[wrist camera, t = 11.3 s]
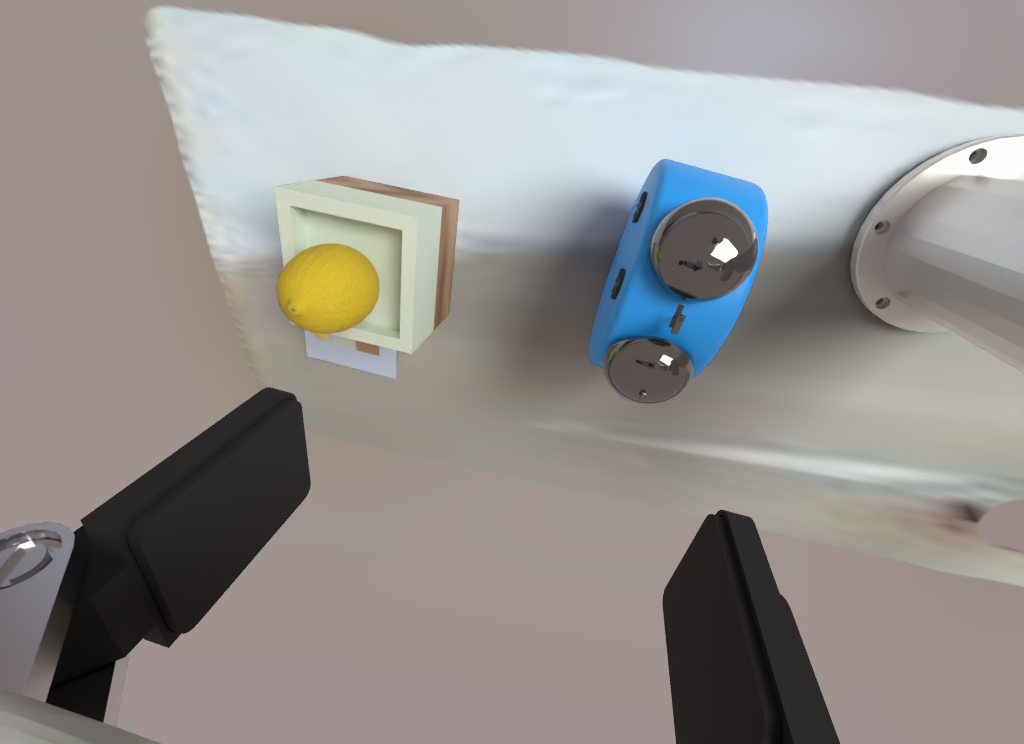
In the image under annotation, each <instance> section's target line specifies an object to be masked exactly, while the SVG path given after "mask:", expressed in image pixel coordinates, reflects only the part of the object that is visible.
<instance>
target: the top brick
mask: <svg viewBox="0 0 1024 744" xmlns="http://www.w3.org/2000/svg"><path fill="white" fill-rule="evenodd" d="M274 191H275V199H276V207H277V216H278V224H279V233H280V241H281V250H282V258H283V267H285V265H286V264H287V263H288V262H289V261H290V260H291V259H293V258H294V257H295V256H296V255H297V254H298V253H300V252H302V251H303V250H306V249H308V248H311V247H313V246H316V245H320V244H333V243H335V244H341V245H346V246H349V247H352V248H354V249H356V250H358V251H359V252H361V253H362V254H363V255H364V256H366V257H367V258H368V260H369V261H370V262H371V263H372V264H373V266H374V268H375V270H376V272H377V275H378V278H379V287H380V291H379V297H378V301H377V303H376V305H375V306H374V308H373V310H372V312H371V313H370V314H369V315H368V316H367V317H366V318H365V319H364V320H363V321H362V322H360V323H359V324H357V325H355V326H353V327H351V328H349V329H347V330H345V331H342V332H337V333H331V334H332V335H336V336H340V337H344V338H349V339H353V340H357V341H361V342H365V343H369V344H373V345H377V346H381V347H385V348H389V349H393V350H397V351H401V352H405V353H409V354H412V353H413V352H414V351H415V350H416V349H417V348H418V347H419V346H420V345H421V344H422V343H423V341H424V340H425V339H426V338H427V337H428V336H429V335H430V334H431V333H432V332H433V328H434V314H435V300H436V286H437V272H438V258H439V244H440V230H441V216H442V207H439V206H434V205H429V204H425V203H420V202H415V201H411V200H406V199H401V198H396V197H392V196H387V195H382V194H378V193H373V192H368V191H363V190H359V189H354V188H349V187H344V186H340V185H335V184H330V183H326V182H321V181H316V180H314V181H307V182H300V183H294V184H287V185H281V186H274ZM290 324H292V325H295V324H294V323H293V322H292V321H291V320H290ZM296 326H297V325H296Z"/></svg>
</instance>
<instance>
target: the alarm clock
mask: <svg viewBox="0 0 1024 744" xmlns="http://www.w3.org/2000/svg"><path fill="white" fill-rule="evenodd" d="M767 224H768V207H767V200H766V197H765V194H764V192H763V191H762V189H761V188H760V187H759V186H757V185H756V184H754V183H751V182H748V181H744V180H741V179H737V178H733V177H730V176H726V175H723V174H719V173H715V172H712V171H708V170H705V169H701V168H698V167H694V166H690V165H687V164H683V163H680V162H676V161H672V160H669V159H663V160H661V161H659V162H658V163H657V164H656V165H655V166H654V167H653V169H652V170H651V172H650V174H649V176H648V177H647V179H646V181H645V183H644V185H643V187H642V189H641V191H640V194H639V196H638V198H637V200H636V203H635V205H634V207H633V210H632V212H631V214H630V217H629V219H628V222H627V224H626V227H625V230H624V232H623V235H622V237H621V240H620V243H619V246H618V248H617V251H616V254H615V257H614V260H613V262H612V265H611V268H610V271H609V274H608V277H607V280H606V283H605V287H604V290H603V293H602V296H601V300H600V303H599V306H598V310H597V314H596V317H595V321H594V325H593V329H592V334H591V339H590V345H589V359H590V361H591V362H592V363H593V364H595V365H598V366H601V367H603V372H604V375H605V378H606V380H607V382H608V384H609V385H610V386H611V388H612V389H613V390H614V391H615V392H616V393H618V394H619V395H620V396H622V397H623V398H625V399H627V400H630V401H633V402H636V403H641V404H661V403H665V402H668V401H670V400H673V399H675V398H677V397H678V396H679V395H681V394H682V393H683V392H684V391H685V390H686V389H687V388H688V386H689V385H690V383H691V381H692V379H694V378H695V377H696V376H697V375H698V374H699V373H700V372H701V371H702V370H703V369H704V368H705V367H706V366H707V365H708V364H709V362H710V361H711V360H712V359H713V357H714V356H715V355H716V353H717V352H718V350H719V349H720V347H721V346H722V344H723V343H724V341H725V340H726V338H727V336H728V334H729V333H730V331H731V329H732V327H733V325H734V324H735V322H736V320H737V318H738V316H739V314H740V312H741V310H742V308H743V305H744V303H745V301H746V299H747V296H748V294H749V291H750V289H751V286H752V284H753V281H754V278H755V275H756V273H757V269H758V266H759V263H760V260H761V256H762V252H763V248H764V243H765V239H766V232H767Z"/></svg>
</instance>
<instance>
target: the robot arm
mask: <svg viewBox="0 0 1024 744" xmlns="http://www.w3.org/2000/svg"><path fill="white" fill-rule="evenodd" d="M971 153H972V155H971V157H970V158H969V156H970V154H971ZM878 223H879V226H878V227H877V228H875V226H876V225H877V224H878ZM850 267H851V280H852V283H853V286H854V290H855V292H856V294H857V296H858V297H859V299H860V300H861V302H862V304H863V305H864V306H865V307H867V308H868V309H869V310H870V311H871V312H872V313H873V314H874V315H876V316H877V317H879V318H881V319H882V320H883V321H885V322H887V323H889V324H891V325H894V326H896V327H898V328H901V329H905V330H910V331H914V332H923V333H945V332H953V333H955V334H957V335H958V336H960V337H962V338H964V339H965V340H967V341H969V342H970V343H972V344H974V345H976V346H977V347H979V348H981V349H983V350H984V351H986V352H988V353H989V354H991V355H993V356H995V357H996V358H998V359H1000V360H1001V361H1003V362H1005V363H1007V364H1008V365H1010V366H1012V367H1014V368H1015V369H1017V370H1019V371H1020V372H1022V373H1024V134H1018V135H998V136H993V137H988V138H983V139H978V140H973V141H971V142H968V143H965V144H962V145H959V146H956V147H953V148H951V149H948V150H946V151H944V152H942V153H941V154H939V155H937V156H935V157H933V158H931V159H929V160H927V161H925V162H924V163H922V164H921V165H919V166H918V167H916V168H915V169H913V170H912V171H911V172H909V173H908V174H906V175H905V176H904V177H903V178H901V179H900V180H899V181H898V182H897V183H896V184H895V185H894V186H892V187H891V188H890V189H889V190H888V191H887V192H886V193H885V194H884V195H883V197H882V198H881V199H880V200H879V201H878V202H877V204H876V205H875V206H874V207H873V208H872V210H871V211H870V213H869V214H868V216H867V218H866V219H865V221H864V223H863V224H862V226H861V228H860V230H859V233H858V235H857V237H856V240H855V242H854V245H853V250H852V255H851V261H850ZM310 484H311V483H310V474H309V466H308V457H307V449H306V440H305V431H304V423H303V414H302V406H301V404H300V402H298V401H297V399H296V397H295V395H294V394H292V393H289V392H285V391H281V390H278V389H274V388H270V387H269V388H265V389H263V390H261V391H260V392H258V393H257V394H255V395H254V396H253V397H251V398H250V399H249V400H247V401H246V402H244V403H243V404H241V405H240V406H239V407H237V408H236V409H235V410H233V411H232V412H230V413H229V414H228V415H226V416H225V417H224V418H222V419H221V420H219V421H218V422H216V423H215V424H214V425H212V426H211V427H210V428H208V429H207V430H205V431H204V432H202V433H201V434H200V435H198V436H197V437H196V438H194V439H193V440H191V441H190V442H189V443H187V444H186V445H184V446H183V447H182V448H180V449H179V450H177V451H176V452H175V453H173V454H172V455H171V456H169V457H168V458H166V459H165V460H163V461H162V462H161V463H159V464H158V465H156V466H155V467H154V468H152V469H151V470H150V471H148V472H147V473H145V474H144V475H143V476H141V477H140V478H139V479H137V480H136V481H134V482H133V483H131V484H130V485H129V486H127V487H126V488H124V489H123V490H122V491H120V492H119V493H117V494H116V495H115V496H113V497H112V498H111V499H109V500H108V501H106V502H105V503H104V504H102V505H101V506H99V507H98V508H97V509H95V510H94V511H93V512H91V513H90V514H88V515H87V516H85V517H84V518H83V519H81V522H82V524H83V526H82V527H80V528H79V529H77V530H76V531H75V532H72V530H71V529H70V528H69V527H67V526H65V525H63V524H60V523H50V522H43V523H34V524H28V525H24V526H21V527H17V528H14V529H10V530H7V531H5V532H3V533H1V534H0V744H160V743H157V742H155V741H152V740H149V739H146V738H144V737H141V736H138V735H136V734H133V733H130V732H128V731H125V730H122V729H119V728H117V727H116V725H117V720H118V714H119V709H120V704H121V699H122V693H123V688H124V683H125V677H126V672H127V666H128V661H129V656H130V651H131V650H132V649H133V648H134V647H135V646H136V645H137V644H138V643H139V642H140V641H141V640H142V639H143V638H144V639H145V640H148V641H151V642H154V643H157V644H160V645H162V646H165V647H168V648H169V647H170V646H171V645H172V643H173V642H174V641H175V640H176V639H177V638H178V637H179V636H180V634H181V633H182V634H184V633H187V632H189V631H190V630H191V629H193V628H194V627H195V626H196V625H197V624H198V623H199V621H200V620H201V619H202V618H203V616H205V614H206V613H207V612H208V611H209V610H210V609H211V607H212V606H213V605H214V604H215V603H216V602H217V600H218V599H219V598H220V597H221V596H222V595H223V593H224V592H225V591H226V590H227V589H228V588H229V587H230V585H231V584H232V583H233V582H234V581H235V579H236V578H237V577H238V576H239V575H240V574H241V573H242V571H243V570H244V569H245V568H246V567H247V566H248V564H249V563H250V562H251V561H252V560H253V559H254V557H255V556H256V555H257V554H258V552H260V550H261V549H262V548H263V547H264V546H265V544H266V543H267V542H268V541H269V540H270V539H271V538H272V536H273V535H274V534H275V533H276V532H277V531H278V529H279V528H280V527H281V526H282V525H283V524H284V522H285V521H286V520H287V519H288V518H289V517H290V515H291V514H292V513H293V512H294V511H295V510H296V508H297V507H298V506H299V505H300V504H301V502H302V501H303V500H304V499H305V498H306V496H307V494H308V492H309V490H310ZM663 613H664V624H665V634H666V644H667V654H668V665H669V674H670V685H671V694H672V705H673V716H674V726H675V736H676V744H840V742H839V739H838V737H837V734H836V731H835V729H834V726H833V723H832V720H831V718H830V715H829V712H828V709H827V707H826V704H825V701H824V698H823V696H822V693H821V691H820V688H819V685H818V682H817V679H816V677H815V674H814V671H813V668H812V666H811V663H810V660H809V658H808V655H807V652H806V649H805V647H804V644H803V641H802V639H801V636H800V633H799V630H798V627H797V625H796V622H795V619H794V617H793V614H792V611H791V609H790V607H789V605H788V603H787V601H786V599H785V598H784V597H783V596H782V595H781V594H780V593H779V591H778V588H777V585H776V582H775V579H774V577H773V574H772V571H771V568H770V566H769V562H768V560H767V557H766V554H765V551H764V549H763V546H762V543H761V540H760V537H759V534H758V531H757V529H756V526H755V523H754V521H753V520H752V519H751V518H750V517H747V516H743V515H740V514H736V513H732V512H729V511H725V510H720V511H718V512H717V513H716V515H713V514H709V515H708V516H707V517H706V519H705V520H704V522H703V524H702V525H701V527H700V529H699V531H698V532H697V534H696V536H695V538H694V539H693V541H692V543H691V544H690V546H689V548H688V550H687V551H686V553H685V555H684V557H683V558H682V560H681V562H680V563H679V565H678V567H677V569H676V570H675V572H674V574H673V576H672V577H671V579H670V581H669V583H668V584H667V586H666V588H665V590H664V594H663Z"/></svg>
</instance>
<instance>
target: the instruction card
mask: <svg viewBox="0 0 1024 744" xmlns="http://www.w3.org/2000/svg"><path fill="white" fill-rule="evenodd" d="M304 335H305V345H306V354H307V356H308V357H312V358H316V359H320V360H324V361H328V362H332V363H335V364H339V365H343V366H347V367H351V368H355V369H359V370H363V371H367V372H371V373H374V374H378V375H382V376H386V377H390V378H394V379H396V374H397V350H393V349H389V348H385V347H381V346H377V345H373V344H369V343H365V342H361V341H357V340H353V339H349V338H344V337H340V336H336V335H332V334H318V333H312V332H309V331H306V330H304Z"/></svg>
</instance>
